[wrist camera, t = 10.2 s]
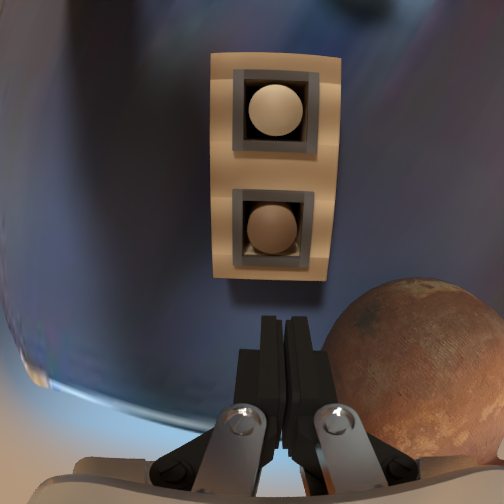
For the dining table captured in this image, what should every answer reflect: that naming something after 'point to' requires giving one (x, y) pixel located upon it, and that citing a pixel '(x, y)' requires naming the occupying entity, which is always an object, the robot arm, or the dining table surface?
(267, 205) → the walnut peg
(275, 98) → the maple peg
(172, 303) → the dining table surface
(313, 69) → the oak block
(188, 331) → the dining table surface
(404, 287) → the pottery
